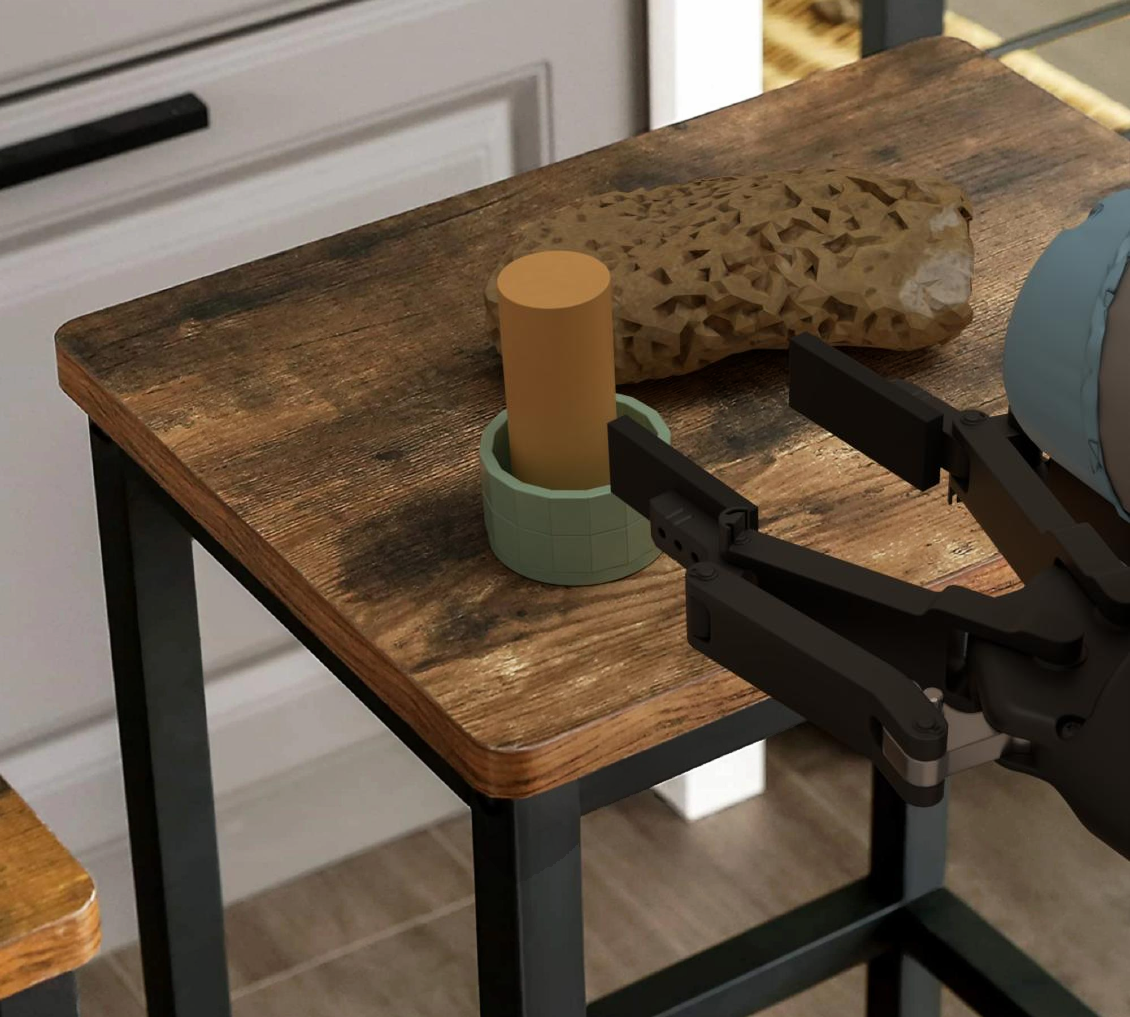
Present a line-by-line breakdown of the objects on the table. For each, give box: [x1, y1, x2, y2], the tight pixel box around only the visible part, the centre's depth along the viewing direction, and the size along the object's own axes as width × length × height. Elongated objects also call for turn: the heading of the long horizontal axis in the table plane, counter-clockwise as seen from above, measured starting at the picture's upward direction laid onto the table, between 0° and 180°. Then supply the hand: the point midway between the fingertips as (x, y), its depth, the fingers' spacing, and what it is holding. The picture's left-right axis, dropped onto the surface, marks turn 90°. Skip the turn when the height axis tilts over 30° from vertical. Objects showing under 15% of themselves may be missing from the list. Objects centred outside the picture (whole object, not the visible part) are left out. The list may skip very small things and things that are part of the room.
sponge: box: [482, 166, 976, 386], centre depth 90 cm, size 13×8×20 cm
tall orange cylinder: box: [497, 251, 617, 490], centre depth 79 cm, size 4×4×10 cm
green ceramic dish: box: [478, 392, 672, 587], centre depth 80 cm, size 7×7×4 cm
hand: (710, 410), depth 71 cm, fingers open, 7 cm apart
